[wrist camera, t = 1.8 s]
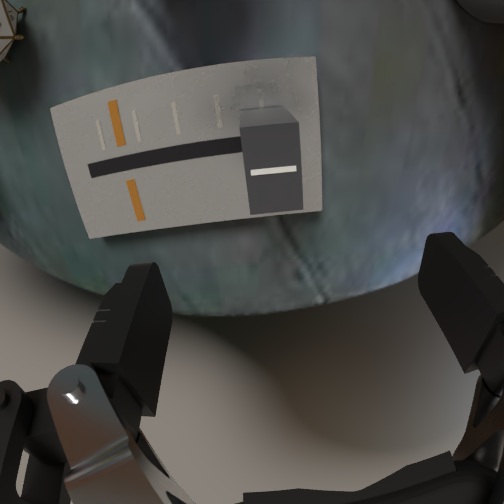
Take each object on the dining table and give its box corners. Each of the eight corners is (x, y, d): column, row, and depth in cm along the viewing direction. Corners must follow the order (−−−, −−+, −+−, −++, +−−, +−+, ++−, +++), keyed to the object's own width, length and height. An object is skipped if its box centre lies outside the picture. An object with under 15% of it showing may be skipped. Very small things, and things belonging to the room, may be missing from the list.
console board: (309, 57, 20) (315, 56, 18) (317, 200, 27) (322, 211, 25) (62, 104, 21) (49, 108, 19) (97, 227, 27) (89, 239, 26)
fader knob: (284, 106, 20) (299, 122, 15) (289, 173, 23) (303, 210, 18) (240, 111, 20) (239, 127, 15) (248, 177, 23) (250, 215, 18)
